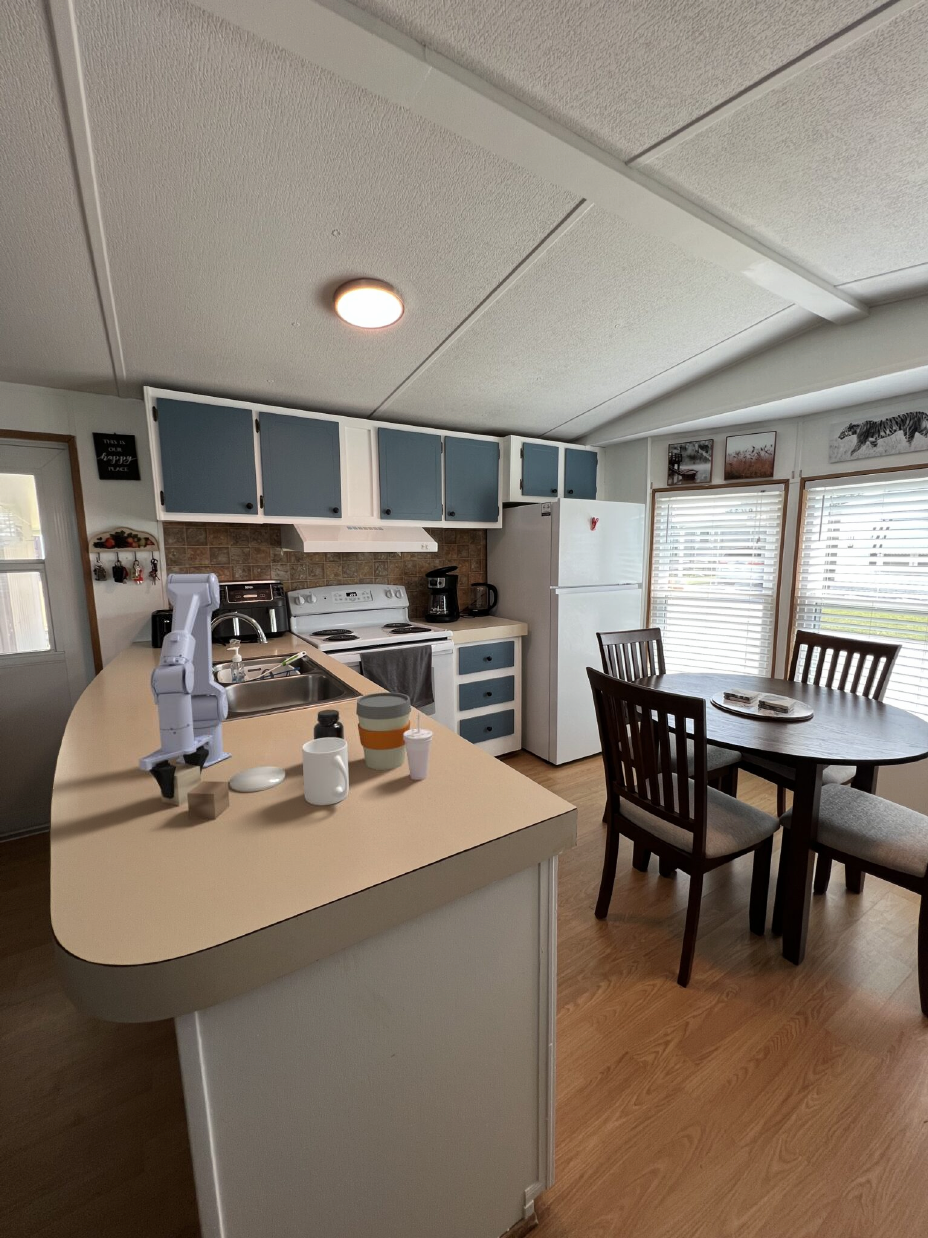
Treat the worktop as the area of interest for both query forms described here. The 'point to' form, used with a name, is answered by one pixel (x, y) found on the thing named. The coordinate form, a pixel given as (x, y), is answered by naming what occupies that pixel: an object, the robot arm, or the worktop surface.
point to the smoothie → (418, 751)
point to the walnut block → (208, 800)
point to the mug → (325, 771)
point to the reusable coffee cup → (383, 728)
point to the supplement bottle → (328, 725)
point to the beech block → (183, 783)
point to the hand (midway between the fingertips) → (181, 791)
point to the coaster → (257, 779)
